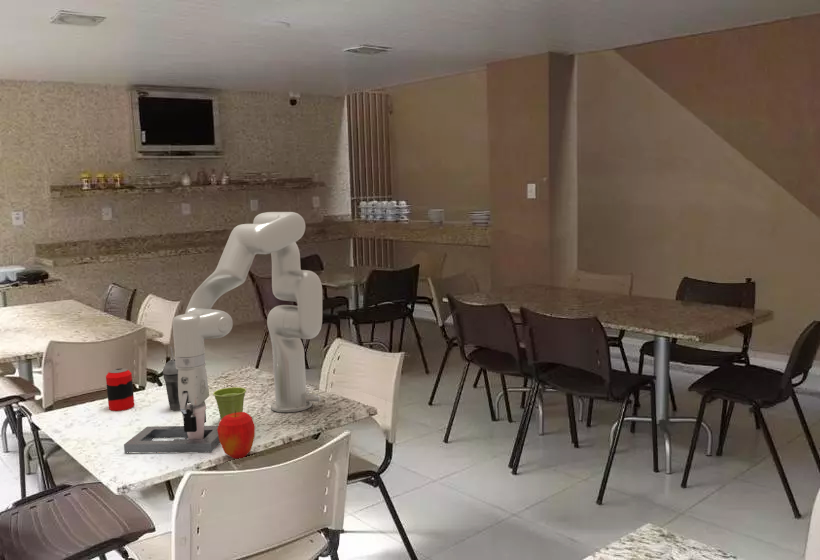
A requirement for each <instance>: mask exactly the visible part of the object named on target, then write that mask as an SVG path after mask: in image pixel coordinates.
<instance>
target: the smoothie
mask: <svg viewBox="0 0 820 560" xmlns="http://www.w3.org/2000/svg"><path fill="white" fill-rule="evenodd" d="M187 405H192V404H191V403H187ZM187 409H189V410H190V411H191V408H187ZM206 410H207V404H206V403H205V404H203V403H201V404H200V405H199V406H195V413H194V416H196V425H197V431H196V432H187V434H188V439H204V426H205V423H206V422H205V411H206ZM180 412H181V413H182V411H181V410H180Z"/></svg>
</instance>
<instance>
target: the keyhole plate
mask: <svg viewBox="0 0 820 560" xmlns="http://www.w3.org/2000/svg"><path fill="white" fill-rule="evenodd" d="M217 429H218V425H204V439H188V434H187V432H185V431H184V425H179V426H177V425H167V426H165V425H164V426H161V425H159V426H158V425H157V426H156V425H155V426H152V425H151V426H146V427H144V428H143V429H142V430H140V431H139V432H138V433H136V435H134V436H133V437H131V438H130V439H129V440H128V441H126V442H125V443H124V444H123V451H124V454H130V453H129V452H156V453H155V454H158V453H157V452H198V453H199V454H201V453H203V454H204V453H212V452H214V450H215V449H216V448H217V447H218V446H219V445H221V443H220V441H219V436H218V431H217ZM164 437H165V438H164ZM170 437H184V438H174V439H173V440H154V439H166V438H167V439H171V438H170ZM153 438H154V439H153ZM152 439H153V440H152ZM127 452H128V453H127Z"/></svg>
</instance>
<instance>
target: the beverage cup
mask: <svg viewBox="0 0 820 560" xmlns="http://www.w3.org/2000/svg"><path fill="white" fill-rule="evenodd" d="M169 347H170V355H171V356H170V357H171V359H170V360H168V361H167V362H166V363H165V364H164V366H163V368H162V375H163V379H164V382H165V383H164V384H165V388H166V394H167V399H168V405H169V410H170V411H173V412H177V411H181V410H180V403H179V395H178V369H176V363H175V357H174V354H173V353H174V351H173V346H169Z"/></svg>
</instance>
